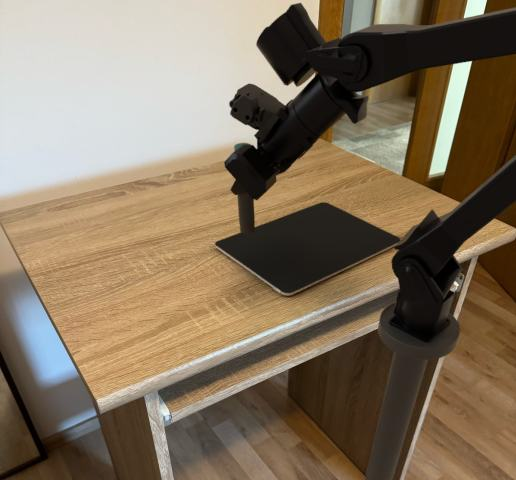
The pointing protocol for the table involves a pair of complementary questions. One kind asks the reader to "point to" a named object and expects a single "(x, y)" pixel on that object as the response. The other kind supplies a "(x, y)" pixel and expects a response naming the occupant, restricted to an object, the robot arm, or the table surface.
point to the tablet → (306, 247)
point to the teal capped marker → (245, 208)
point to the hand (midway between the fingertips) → (237, 188)
